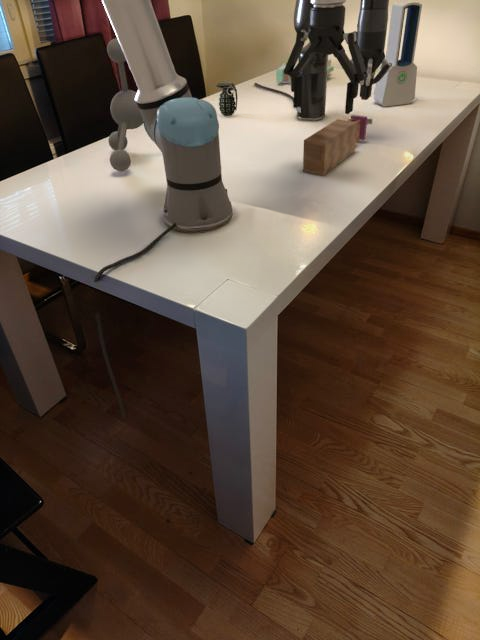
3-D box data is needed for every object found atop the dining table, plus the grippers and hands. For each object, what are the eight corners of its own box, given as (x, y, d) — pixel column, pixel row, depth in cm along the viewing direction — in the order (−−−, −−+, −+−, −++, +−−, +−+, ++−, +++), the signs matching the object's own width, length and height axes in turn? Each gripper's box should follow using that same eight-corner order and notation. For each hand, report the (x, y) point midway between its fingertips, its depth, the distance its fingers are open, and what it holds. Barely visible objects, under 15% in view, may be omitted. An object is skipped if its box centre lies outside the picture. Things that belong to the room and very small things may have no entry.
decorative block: (299, 55, 215) (340, 58, 206) (298, 71, 219) (339, 75, 210) (267, 66, 199) (310, 70, 190) (267, 83, 203) (309, 88, 194)
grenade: (217, 117, 168) (214, 86, 162) (221, 112, 172) (219, 82, 166) (235, 117, 166) (233, 86, 160) (239, 113, 171) (238, 82, 165)
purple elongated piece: (357, 131, 146) (360, 109, 143) (372, 133, 144) (375, 111, 140) (322, 156, 131) (323, 132, 127) (338, 159, 129) (340, 135, 125)
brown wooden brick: (335, 148, 138) (337, 119, 133) (354, 152, 135) (357, 121, 130) (302, 171, 126) (303, 140, 121) (323, 175, 123) (325, 143, 118)
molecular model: (194, 162, 134) (180, 38, 116) (114, 177, 128) (87, 49, 110) (171, 138, 152) (156, 27, 133) (100, 151, 146) (75, 36, 127)
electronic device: (382, 107, 168) (394, 4, 149) (371, 102, 174) (382, 2, 155) (414, 102, 170) (430, 0, 152) (403, 98, 176) (417, -1, 158)
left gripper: (390, 3, 101) (377, 111, 114) (285, 2, 113) (285, 100, 126) (377, 8, 96) (365, 119, 109) (269, 6, 108) (270, 107, 121)
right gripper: (402, 27, 126) (392, 98, 137) (354, 25, 132) (348, 93, 143) (391, 31, 121) (382, 105, 132) (342, 29, 127) (337, 100, 138)
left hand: (322, 109), depth 118 cm, fingers open, 13 cm apart
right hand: (364, 99), depth 137 cm, fingers closed
